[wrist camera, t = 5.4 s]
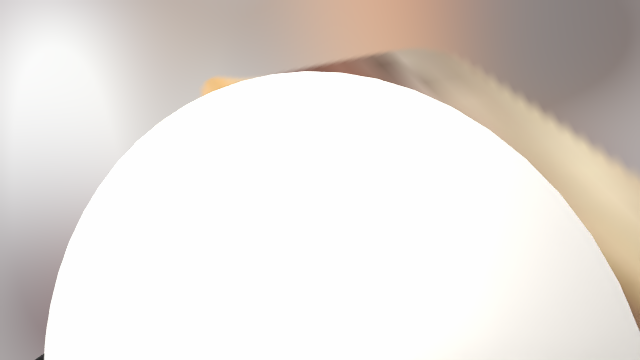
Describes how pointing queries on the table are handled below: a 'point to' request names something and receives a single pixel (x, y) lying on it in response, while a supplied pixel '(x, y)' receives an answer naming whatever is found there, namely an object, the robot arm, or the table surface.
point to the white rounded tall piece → (331, 239)
